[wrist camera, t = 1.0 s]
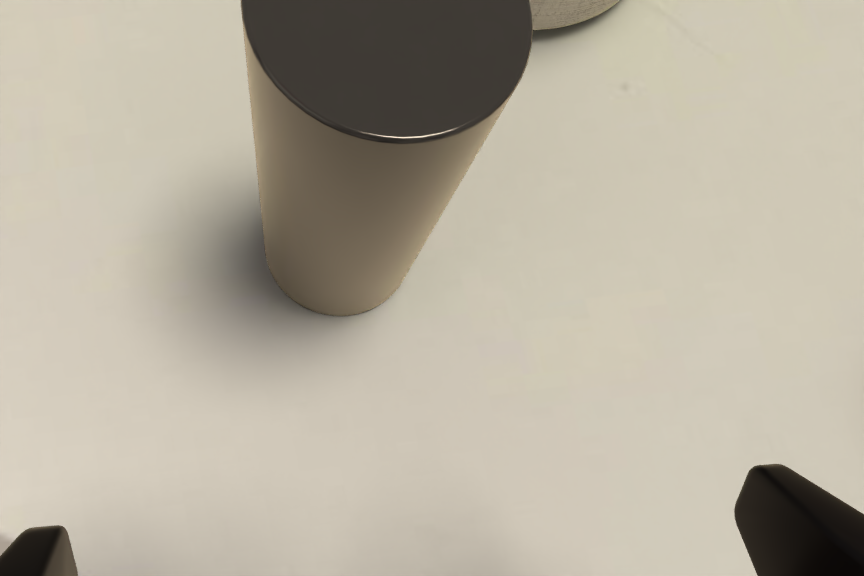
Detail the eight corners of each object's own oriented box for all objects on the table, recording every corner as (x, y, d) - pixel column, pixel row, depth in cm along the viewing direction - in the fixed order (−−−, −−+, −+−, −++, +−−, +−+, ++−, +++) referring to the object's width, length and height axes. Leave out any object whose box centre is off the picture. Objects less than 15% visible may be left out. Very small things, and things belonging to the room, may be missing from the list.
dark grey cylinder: (416, 313, 24) (549, 143, 12) (266, 319, 23) (243, 140, 11) (406, 176, 25) (519, -109, 13) (263, 177, 24) (237, -131, 12)
